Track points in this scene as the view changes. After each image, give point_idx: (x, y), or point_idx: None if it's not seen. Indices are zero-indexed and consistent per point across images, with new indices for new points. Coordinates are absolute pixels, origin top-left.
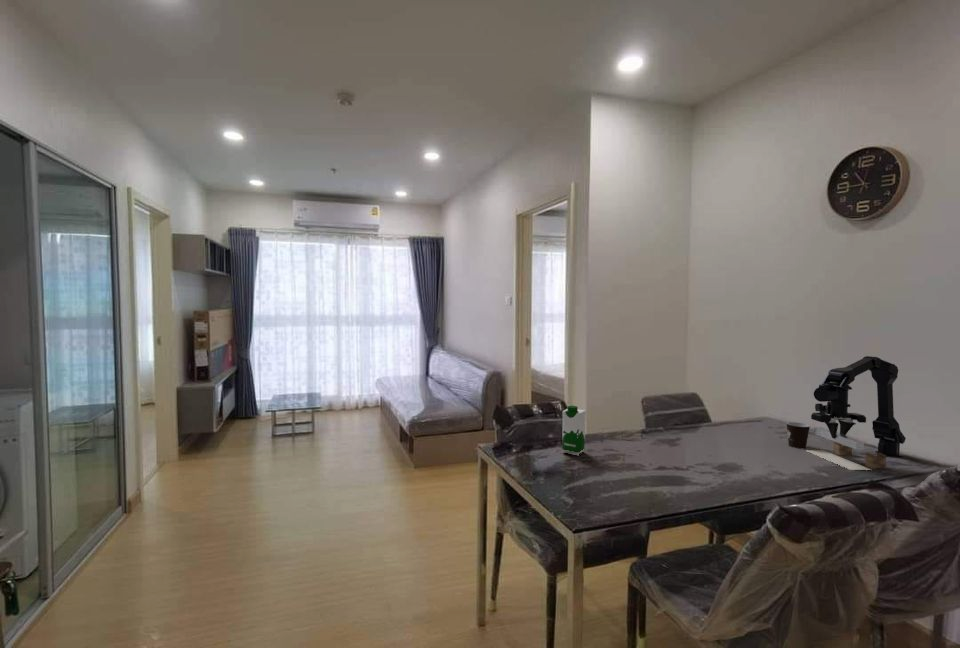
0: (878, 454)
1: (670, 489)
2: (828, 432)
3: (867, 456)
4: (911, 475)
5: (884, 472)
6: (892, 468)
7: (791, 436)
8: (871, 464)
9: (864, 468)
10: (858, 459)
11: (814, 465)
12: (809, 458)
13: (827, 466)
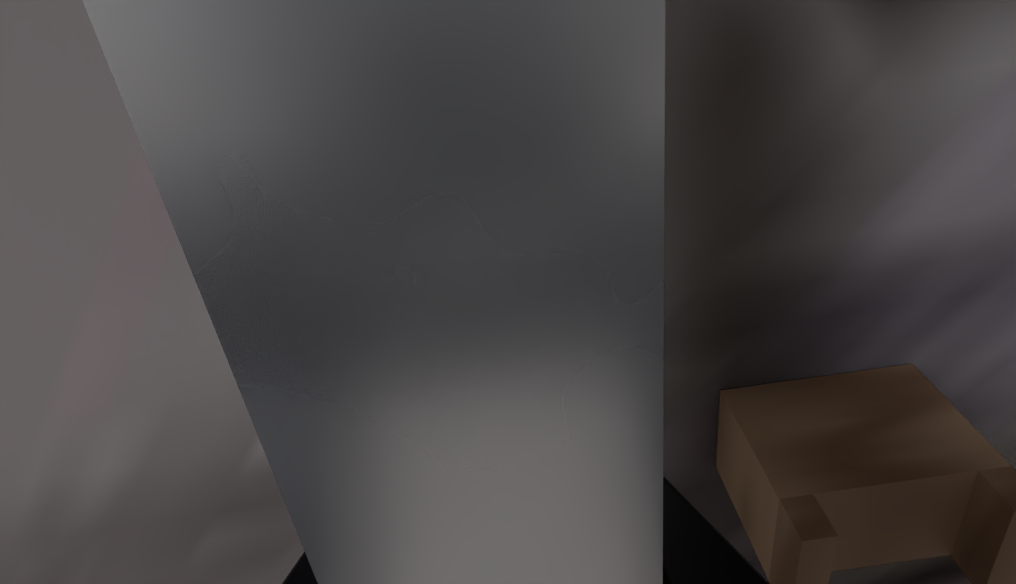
0: (995, 510)
1: None
2: (274, 436)
3: (777, 524)
4: (948, 575)
5: (746, 551)
6: (992, 418)
7: None
8: (733, 501)
9: None
10: (912, 92)
11: (6, 492)
12: (12, 186)
13: (174, 495)
